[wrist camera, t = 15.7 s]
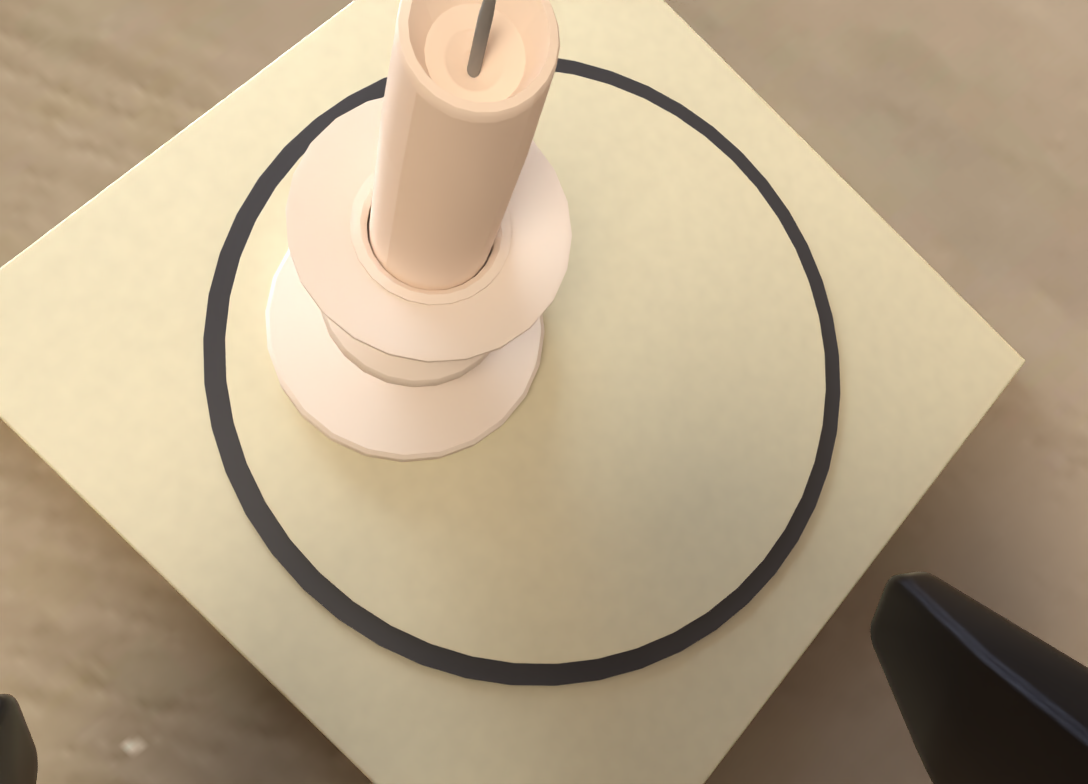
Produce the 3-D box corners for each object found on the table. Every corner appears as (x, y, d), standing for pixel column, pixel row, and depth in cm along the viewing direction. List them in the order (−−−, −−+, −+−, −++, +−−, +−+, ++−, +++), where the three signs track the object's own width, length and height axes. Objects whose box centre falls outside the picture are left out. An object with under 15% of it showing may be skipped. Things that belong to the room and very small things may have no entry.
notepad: (556, 956, 16) (566, 974, 16) (-73, 341, 16) (-94, 329, 15) (1008, 366, 21) (1033, 358, 20) (525, -115, 21) (532, -142, 20)
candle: (538, 468, 17) (800, 315, 7) (256, 457, 16) (109, 262, 6) (541, 215, 18) (772, -218, 8) (276, 189, 17) (181, -344, 7)
